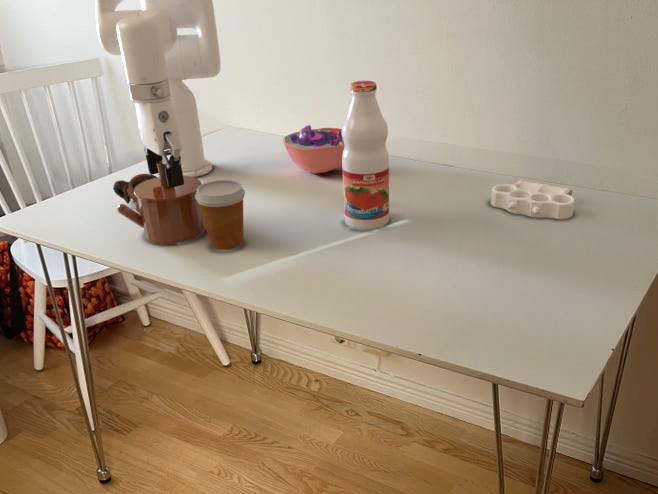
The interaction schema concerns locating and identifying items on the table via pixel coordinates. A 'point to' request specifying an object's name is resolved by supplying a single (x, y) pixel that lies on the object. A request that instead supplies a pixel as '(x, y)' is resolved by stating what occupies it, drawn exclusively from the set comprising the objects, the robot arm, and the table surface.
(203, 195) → the disposable coffee cup
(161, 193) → the lid
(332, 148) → the cell model
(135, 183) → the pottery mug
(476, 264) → the table surface
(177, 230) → the brown hollow round container
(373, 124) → the fruit juice
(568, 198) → the knuckle duster
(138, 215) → the teapot spout handle
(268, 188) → the table surface
